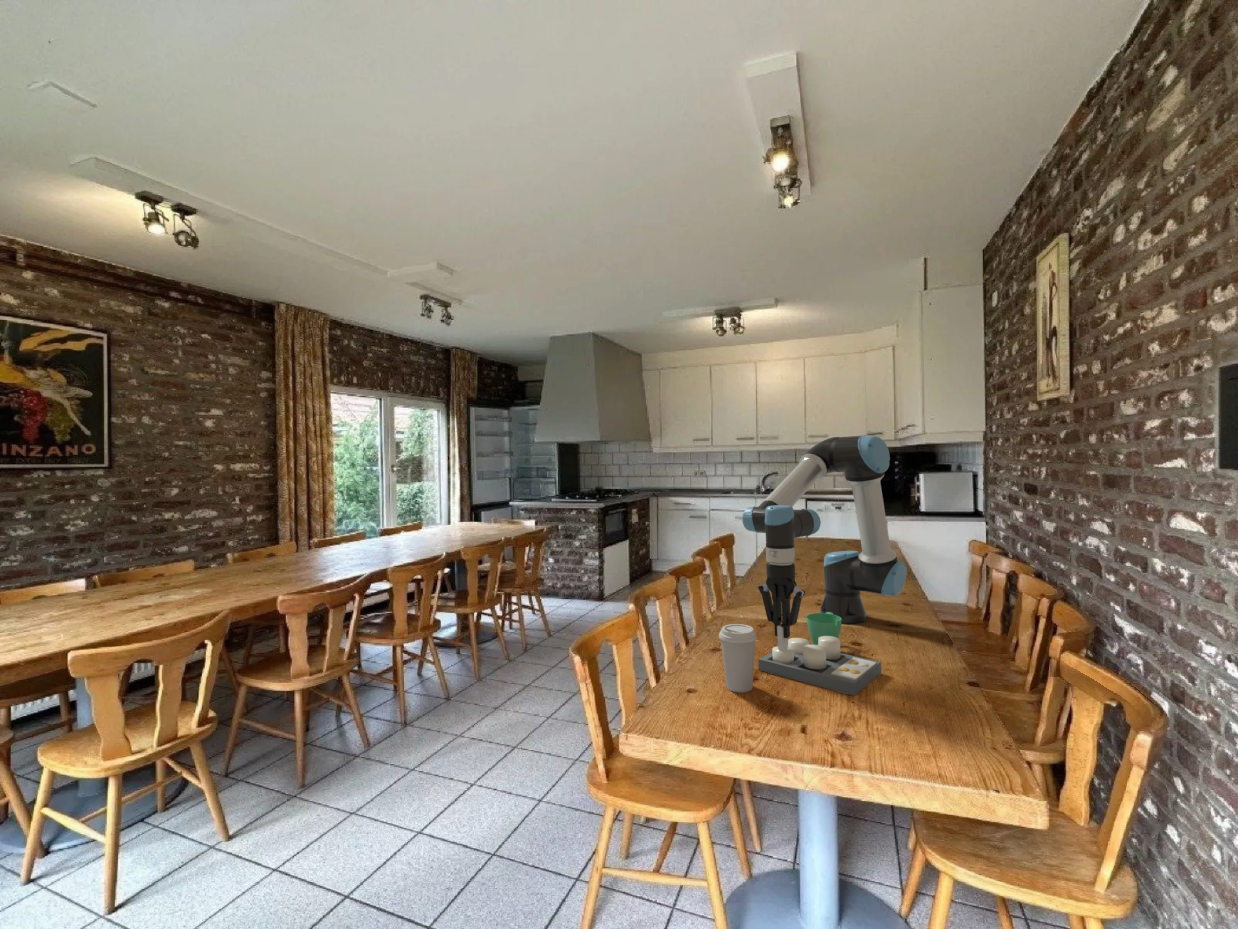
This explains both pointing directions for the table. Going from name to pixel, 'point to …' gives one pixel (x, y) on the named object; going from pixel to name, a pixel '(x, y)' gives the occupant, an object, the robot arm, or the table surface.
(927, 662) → the table surface
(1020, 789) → the table surface
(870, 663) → the board
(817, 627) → the mug
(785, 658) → the button
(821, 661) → the button
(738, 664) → the coffee cup
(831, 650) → the button
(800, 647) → the button
